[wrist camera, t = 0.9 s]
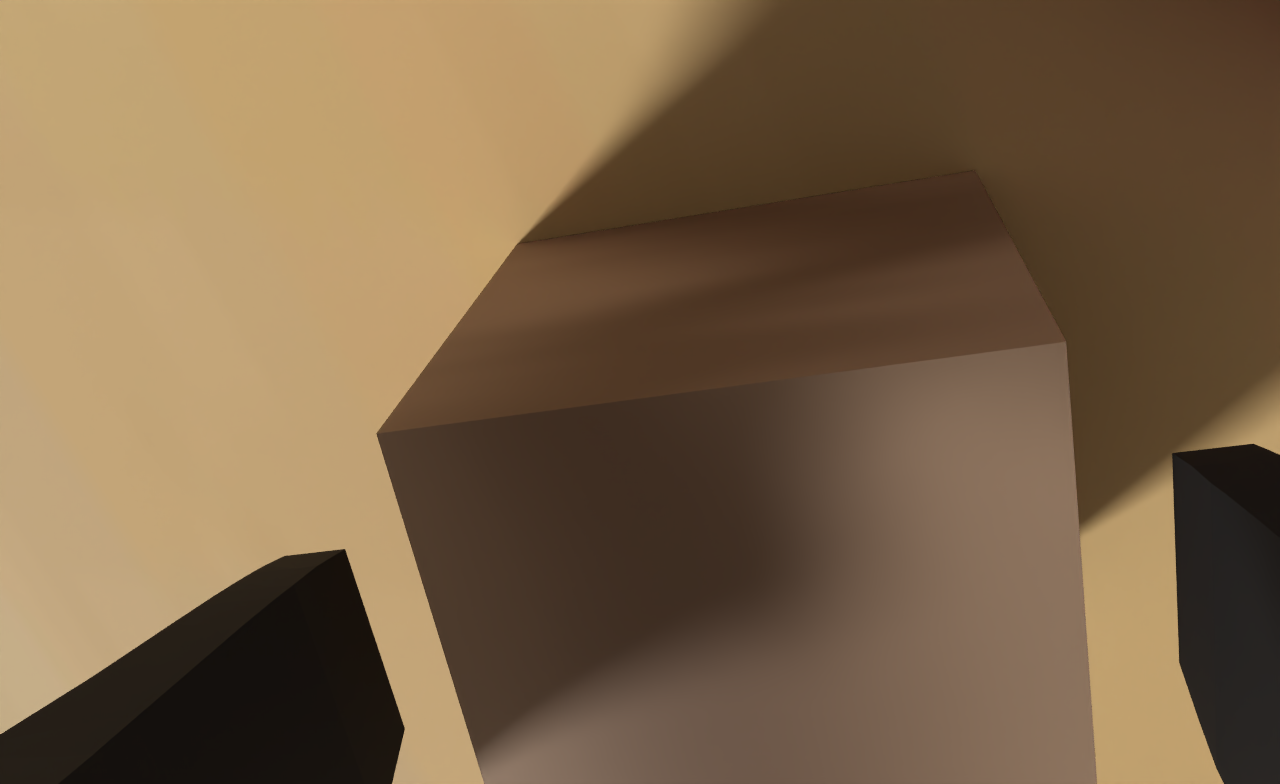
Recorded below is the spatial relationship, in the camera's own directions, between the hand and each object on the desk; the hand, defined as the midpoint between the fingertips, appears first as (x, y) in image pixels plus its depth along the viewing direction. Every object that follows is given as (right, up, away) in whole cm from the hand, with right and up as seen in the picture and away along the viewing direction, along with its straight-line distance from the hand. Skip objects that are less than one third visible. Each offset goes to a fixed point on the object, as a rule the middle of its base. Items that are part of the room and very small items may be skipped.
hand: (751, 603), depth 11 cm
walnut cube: (+1, +2, +4) cm, 4 cm away
